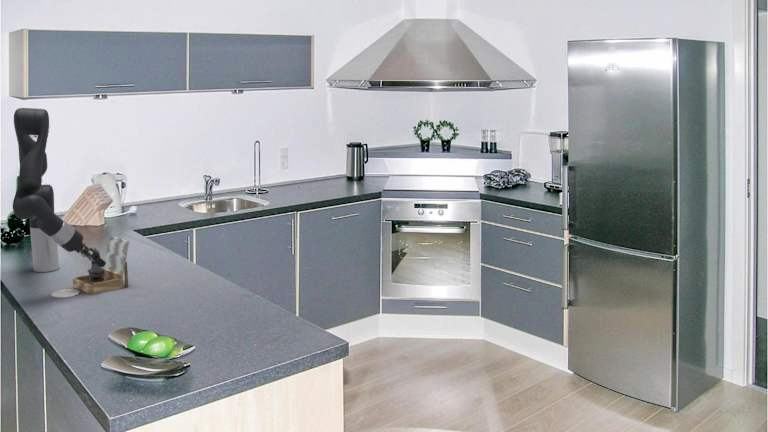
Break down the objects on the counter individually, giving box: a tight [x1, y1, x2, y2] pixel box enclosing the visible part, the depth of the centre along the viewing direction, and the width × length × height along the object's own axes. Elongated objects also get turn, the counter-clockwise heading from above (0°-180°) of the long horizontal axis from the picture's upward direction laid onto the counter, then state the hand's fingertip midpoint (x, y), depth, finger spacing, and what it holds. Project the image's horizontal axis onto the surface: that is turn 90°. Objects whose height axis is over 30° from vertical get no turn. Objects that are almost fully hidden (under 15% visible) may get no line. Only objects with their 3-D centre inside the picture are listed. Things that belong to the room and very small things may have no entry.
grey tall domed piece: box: [87, 247, 105, 282], centre depth 293 cm, size 6×6×12 cm
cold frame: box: [72, 235, 130, 295], centre depth 294 cm, size 14×15×17 cm
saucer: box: [51, 288, 80, 299], centre depth 286 cm, size 9×9×1 cm
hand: (101, 263), depth 294 cm, fingers closed on grey tall domed piece, 3 cm apart
